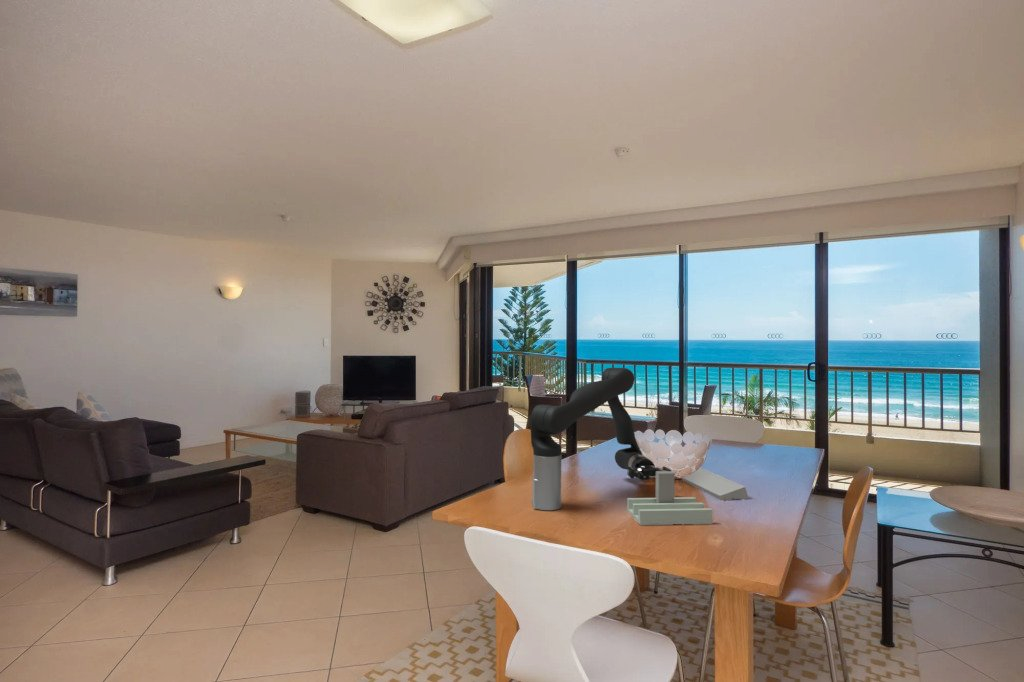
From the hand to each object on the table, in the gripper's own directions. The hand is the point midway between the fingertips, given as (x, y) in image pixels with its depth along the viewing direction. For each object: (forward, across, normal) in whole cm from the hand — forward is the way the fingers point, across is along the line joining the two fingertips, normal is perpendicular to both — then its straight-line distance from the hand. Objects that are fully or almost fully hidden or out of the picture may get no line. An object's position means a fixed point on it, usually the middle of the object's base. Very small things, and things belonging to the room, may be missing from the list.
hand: (655, 477), depth 183 cm
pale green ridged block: (+12, 0, +9) cm, 15 cm away
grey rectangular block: (+9, 0, +8) cm, 12 cm away
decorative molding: (-22, +27, +10) cm, 37 cm away
